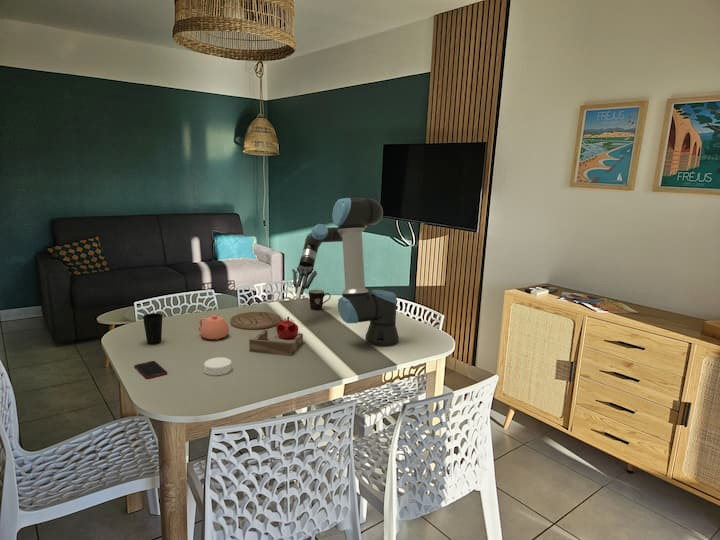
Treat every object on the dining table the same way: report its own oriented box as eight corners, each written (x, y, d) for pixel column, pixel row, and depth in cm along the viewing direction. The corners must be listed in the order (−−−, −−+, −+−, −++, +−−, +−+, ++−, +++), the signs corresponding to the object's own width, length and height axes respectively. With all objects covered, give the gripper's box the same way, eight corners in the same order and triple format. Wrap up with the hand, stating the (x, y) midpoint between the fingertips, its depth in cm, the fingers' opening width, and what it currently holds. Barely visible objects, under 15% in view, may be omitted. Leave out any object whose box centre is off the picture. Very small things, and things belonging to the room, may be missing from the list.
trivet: (270, 312, 255) (270, 309, 254) (288, 326, 234) (288, 322, 233) (224, 318, 242) (223, 315, 241) (238, 333, 221) (238, 329, 220)
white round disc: (205, 377, 173) (205, 368, 172) (202, 367, 182) (202, 358, 181) (233, 374, 177) (233, 365, 176) (229, 364, 186) (229, 355, 185)
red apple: (278, 332, 223) (278, 313, 222) (299, 333, 223) (299, 314, 221) (274, 339, 214) (274, 319, 212) (296, 340, 213) (296, 320, 212)
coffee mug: (306, 310, 260) (306, 292, 258) (310, 306, 269) (311, 288, 267) (327, 311, 258) (327, 294, 256) (330, 307, 267) (331, 290, 265)
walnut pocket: (264, 338, 215) (264, 327, 214) (302, 342, 212) (302, 331, 211) (249, 351, 199) (249, 340, 198) (290, 355, 196) (290, 344, 195)
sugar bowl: (220, 342, 208) (220, 320, 206) (191, 339, 210) (190, 317, 208) (233, 334, 219) (233, 312, 217) (206, 331, 222) (205, 310, 220)
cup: (166, 342, 206) (165, 316, 203) (149, 346, 200) (147, 319, 198) (159, 338, 211) (157, 312, 208) (141, 342, 205) (139, 315, 203)
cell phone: (146, 380, 169) (146, 378, 169) (133, 367, 180) (133, 365, 180) (168, 375, 174) (168, 372, 174) (154, 362, 185) (154, 360, 185)
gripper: (321, 264, 245) (311, 304, 232) (297, 263, 247) (286, 302, 234) (318, 256, 239) (308, 296, 226) (294, 254, 241) (282, 294, 228)
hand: (297, 299), depth 230 cm, fingers closed
